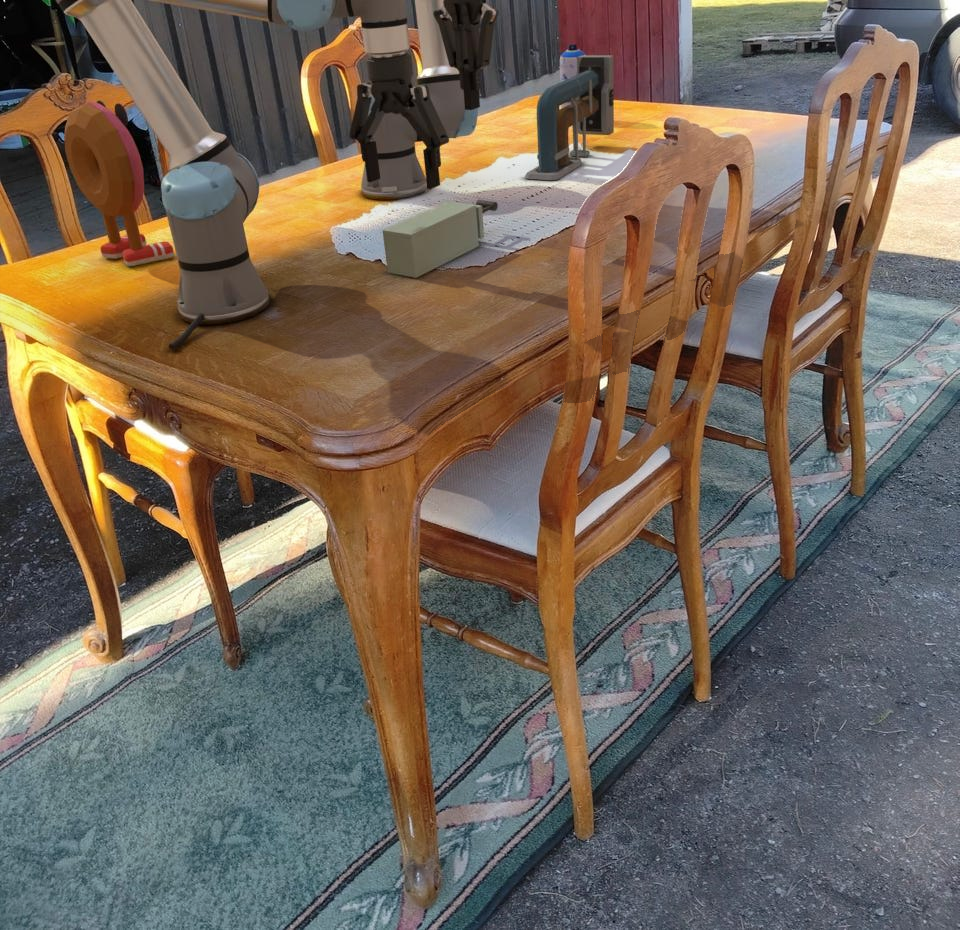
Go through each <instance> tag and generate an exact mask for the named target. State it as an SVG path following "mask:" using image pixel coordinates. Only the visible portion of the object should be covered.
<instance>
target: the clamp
mask: <svg viewBox="0 0 960 930" xmlns="http://www.w3.org/2000/svg"><path fill="white" fill-rule="evenodd" d="M614 60H615V59H614V55H610V54H609V55H606V54H605V55H602V54H601V55H599V54H597V55H596V54H595V55H593V54H592V55H586V54H585V55H581V56H579V57H577V75H576V76H573V77H571V78H569V79H567V80H565V81H562V82H560V81H559V82H558V83H556V84H554V85H551V86H549V87H547V88H546V89H545V90H544V91H543V93H542V94H541V95H540V96H539V98H538V99H537V105H536V129H537V130H536V131H537V135H536V136H537V155H536V158H537V160H538V166H536V167H534V168H532V169H530V170H528V171H527V172H526V173H525V175H524V178H525V179H527V180H541V181H545V180H546V181H556V180H559V179H561V178H563V177H564V176H566V175H567V174H569V173H570V172H572V171H574V170H576V169H577V168H578V167H580V166H582V165H583V164H584V163H583V161H582V159H581V157H585V158H586V157H587V156H589V155H590V154H591V153H590V152H591V151H589V150H588V149H587V138H586V137H587V135H590V136H591V135H593V136H610V135H612V134H613V133H614V132H615V117H614V116H615V115H614V112H615V109H614V108H615V107H614V105H615V103H614V98H615V94H614V93H615V92H614V91H615V89H614V84H615V83H614V81H615V78H614V77H615V76H614V69H615V68H614V67H615V66H614V64H615V63H614ZM569 102H571V103H572V104H570V105H568V106H566V107H564V108H562V109H561V108H560V107H561V105H562V104H564V103H569ZM570 127H572V149H571V150H570V147H569V143H570V142H569V129H570ZM579 135H582V149H579Z"/></svg>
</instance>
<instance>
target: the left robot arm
mask: <svg viewBox="0 0 960 930" xmlns="http://www.w3.org/2000/svg"><path fill="white" fill-rule="evenodd" d="M148 1H150V2H156V3H160V4H165V5H166V4H167V5H171V6H178V7H184V8H190V9H195V10H201V11H206V12H211V13H212V12H213V13H217V14H224V15H230V16H235V17H241V18H246V19H252V20H257V21H262V22H263V21H264V22H269V23H273V24H277V25H283V26H288V27H289V28H291V29H293V30H295V31H297V32H301V33H302V32H303V33H312V32H316V31H318V30H320V29H321V28H323V27H325V25H326V24H327V23H328V22H329V20H332V19H341V18H354V17H360V21H361V22H360V24H361V32H362V41H363V50H364V53H365V54H366V55H368V56H366V59H365V65H366V73H367V78H368V80H369V81H367V82H364V83H360V84H357V86H356V96H357V98H356V102H355V107H354V108H355V109H354V111H353V116H352V121H351V125H350V129H349V138H350V139H351V140H356V141H357V143H358V144H359V148H360V154H361V160H362V162H364V165H365V167H366V175H367V182H373V181H375V180H378V179H380V171H379V163H378V155H377V147H376V141H371V142H370V140H373V139H374V138H373V135H374V133H375V131H376V130H377V128H378V126H379V124H380V122H381V120H382V118H383V116H384V114H385V113H394V114H401V115H402V116H403V117H405V118H406V119H407V120H408V122H409V123H410V124H411V126H412V127H413V129H414V130H415V131H416V133H417V134H418V136H419V137H420V138H421V140H422V141H421V142H422V143H423V144H424V146H425V148H424V149H422V150H423V162H424V163H423V164H424V171H425V173H424V174H425V177H426V182H427V189H426V190H432V189H435V188H437V187H439V186H441V178H440V177H441V176H440V169H439V168H440V167H442V158H441V147H442V146H444V145H446V144H449V142H450V138H448V135H447V133H446V131H445V129H444V127H443V125H442V122H441V120H440V118H439V116H438V114H437V112H436V109H435V107H434V105H433V103H432V101H431V99H430V93H429V88H428V86H427V85H426V84H425V85H421V86H418V85H417V86H418V87H417V86H414V85H413V82H412V78H413V76H414V69H413V59H412V54H411V53H410V52H408V51H409V50H410V49H411V42H410V33H409V23H408V14H407V11H408V10H407V1H406V0H148ZM55 2H56V3H57V4H58V6H59V8H60V9H61V11H62V12H63V14H65V15H67V16H69V17H73V18H75V19H77V20H79V21H80V22H81V23H82V25H83V26H84V28H85V30H86V31H87V32H88V34H89V36H90V37H91V39H92V40H93V42H94V43H95V45H96V47H97V48H98V50H99V51H100V53H101V54H102V56H103V57H104V58H105V60H106V61H107V63H108V64H109V67H110V68H111V69H112V70H113V72H114V74H115V75H116V77H117V78H118V80H119V82H120V83H121V84H122V86H123V88H124V89H125V91H126V93H127V94H128V95H129V97H130V98H131V100H132V101H133V103H134V105H135V106H136V107H137V109H138V111H139V113H140V114H141V115H142V116H143V118H144V120H145V122H146V123H147V124H148V126H149V127H150V129H151V130H152V132H153V133H154V135H155V136H156V138H157V139H158V141H159V143H160V144H161V146H162V147H163V149H164V151H165V152H166V154H167V155H168V164H167V173H166V174H165V175H164V177H163V178H162V180H161V183H160V190H161V200H162V206H163V207H164V210H165V214H166V217H167V221H168V226H169V230H170V234H171V238H172V241H173V247H174V250H175V254H176V258H177V262H178V266H179V283H178V294H177V310H178V314H179V318H180V319H182V320H183V321H184V322H186V323H189V325H188V326H187V328H186V329H185V330H184V332H183V333H181V335H180V336H178V337H176V339H174V340H173V341H172V342H171V343H169V344H168V348H169V350H171V351H173V350H175V349H176V348H178V347H179V346H180V345H182V344H183V343H184V342H185V341H187V339H188V338H189V337H190V336H191V334H192V333H193V332H194V331H195V329H196V328H197V327H198V326H199V325H202V326H203V325H204V326H205V325H206V326H210V325H222V324H230V323H233V322H239V321H241V320H245V319H248V318H251V317H253V316H256V315H258V314H260V312H263V311H264V310H265V309H266V308H267V307H268V306H269V305H270V296H269V291H268V289H267V287H266V284H265V283H264V282H263V280H262V278H261V276H260V274H259V272H258V270H257V269H256V267H255V265H254V264H253V262H252V260H251V257H250V251H249V246H248V241H247V236H246V232H245V227H244V223H245V221H246V220H247V218H248V217H249V216H250V215H251V214H252V212H253V211H254V209H255V208H256V206H257V204H258V199H259V195H260V194H259V193H260V180H259V176H258V173H257V170H256V169H255V167H254V165H253V164H252V163H251V161H249V159H248V158H246V157H245V156H244V155H243V154H241V153H239V152H238V151H236V149H235V148H234V146H233V145H232V143H231V141H230V140H229V138H228V137H227V136H226V134H223V133H220V132H217V131H214V130H213V129H212V128H211V126H210V124H209V123H208V121H207V120H206V118H205V116H204V115H203V113H202V111H201V110H200V108H199V107H198V105H197V103H196V102H195V100H194V98H193V97H192V95H191V94H190V92H189V91H188V89H187V87H186V86H185V84H184V83H183V81H182V79H181V78H180V76H179V74H178V72H177V71H176V70H175V68H174V67H173V65H172V63H171V62H170V60H169V59H168V57H167V55H166V54H165V52H164V51H163V48H162V47H161V46H160V44H159V42H158V41H157V39H156V38H155V36H154V34H153V33H152V31H151V30H150V28H149V27H148V25H147V23H146V22H145V20H144V18H143V16H142V15H141V13H140V12H139V10H138V9H137V7H136V6H135V4H134V2H133V0H55ZM372 96H373V97H374V99H375V101H374V103H373V105H372V107H371V109H370V104H371V100H372ZM413 99H414V100H416V103H417V104H416V103H415V101H414V100H413ZM409 107H410V108H409ZM369 109H370V110H371V112H370V114H369V116H368V113H369ZM419 111H420V112H419ZM367 117H368V118H367ZM372 138H373V139H372Z"/></svg>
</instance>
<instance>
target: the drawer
mask: <svg viewBox="0 0 960 930" xmlns="http://www.w3.org/2000/svg"><path fill="white" fill-rule="evenodd" d="M461 203H462V204H466V203H465V202H461ZM469 204H470V205H474V204H472V203H469ZM475 205H476V215H477V228H478V240H481V239H484V238H485V229H484V228H485V227H484V215H483V214H484V213H486V212H489V211H490V212H491V211H492V212H496V211H498V208H499V205H498V202H497V201H492V200H484V199H478V200H476V203H475Z"/></svg>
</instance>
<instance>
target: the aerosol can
mask: <svg viewBox="0 0 960 930" xmlns="http://www.w3.org/2000/svg"><path fill="white" fill-rule="evenodd" d="M581 55H586V54H585V52H584V51H583V50H581V49H579V48H578V44H577V43H574V44H568V48H567V49H566V50H565V51H563V52H562V53H561V55H560V56H559V79H560V81H559V83H560V82H562V81H565V80H567V79H569V78H571V77H573V76H576V75H577V57H579V56H581ZM570 104H572V103H571V102H569V103H564V104H562V105H560V109H562V108H564V107H566V106H568V105H570Z"/></svg>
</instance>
